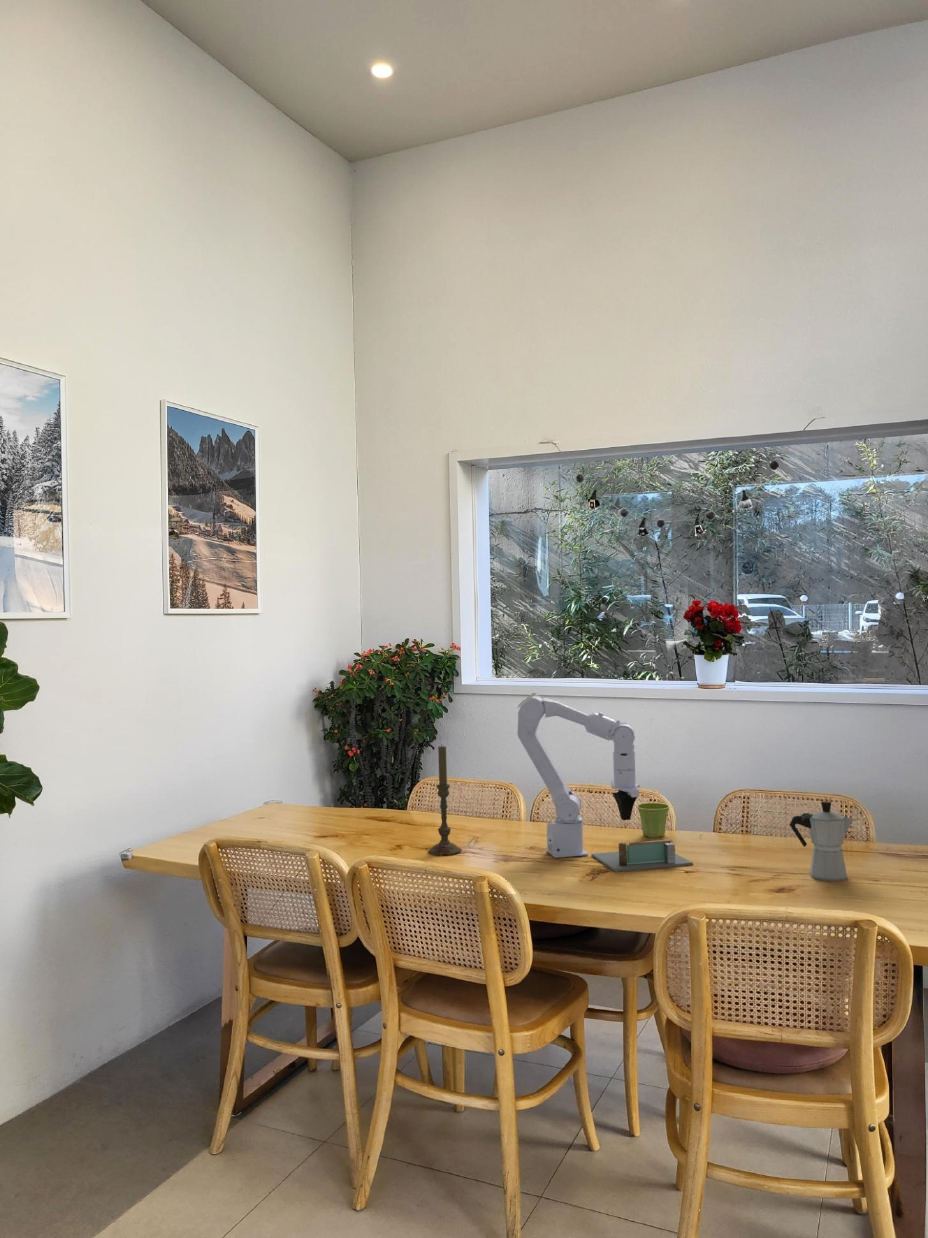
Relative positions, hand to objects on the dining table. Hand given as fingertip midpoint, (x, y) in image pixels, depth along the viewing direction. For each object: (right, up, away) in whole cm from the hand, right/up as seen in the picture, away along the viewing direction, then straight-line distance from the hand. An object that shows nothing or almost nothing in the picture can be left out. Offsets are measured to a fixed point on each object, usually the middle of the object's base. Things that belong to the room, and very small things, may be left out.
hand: (625, 819), depth 251 cm
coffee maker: (+43, -8, -26) cm, 51 cm away
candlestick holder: (-49, -11, +8) cm, 51 cm away
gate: (+4, -8, -12) cm, 15 cm away
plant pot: (+12, -9, +21) cm, 26 cm away
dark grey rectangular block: (+9, -9, -12) cm, 18 cm away
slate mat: (+3, -9, -7) cm, 12 cm away
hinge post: (-3, -9, -13) cm, 16 cm away
